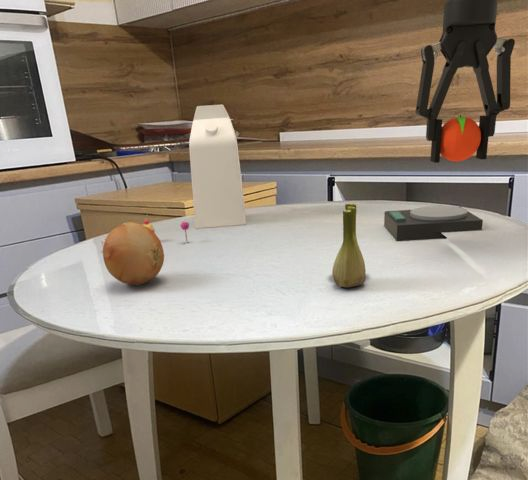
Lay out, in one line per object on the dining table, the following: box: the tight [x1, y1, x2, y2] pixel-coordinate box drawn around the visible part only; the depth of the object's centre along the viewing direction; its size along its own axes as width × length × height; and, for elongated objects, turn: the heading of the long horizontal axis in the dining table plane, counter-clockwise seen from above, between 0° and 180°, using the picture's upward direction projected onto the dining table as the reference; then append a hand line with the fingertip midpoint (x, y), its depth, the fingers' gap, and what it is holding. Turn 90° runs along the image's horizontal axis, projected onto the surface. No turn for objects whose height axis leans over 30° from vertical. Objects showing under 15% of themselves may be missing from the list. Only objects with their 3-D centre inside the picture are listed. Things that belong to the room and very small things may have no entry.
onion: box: [102, 221, 165, 286], centre depth 87 cm, size 10×10×10 cm
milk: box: [188, 104, 247, 229], centre depth 125 cm, size 12×12×26 cm
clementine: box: [440, 114, 481, 162], centre depth 87 cm, size 8×7×7 cm
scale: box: [383, 205, 484, 242], centre depth 108 cm, size 16×14×4 cm
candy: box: [100, 213, 190, 248], centre depth 112 cm, size 18×8×6 cm, turn 109°
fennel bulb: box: [331, 203, 367, 288], centre depth 78 cm, size 6×5×12 cm
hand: (457, 159), depth 89 cm, fingers closed on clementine, 7 cm apart
